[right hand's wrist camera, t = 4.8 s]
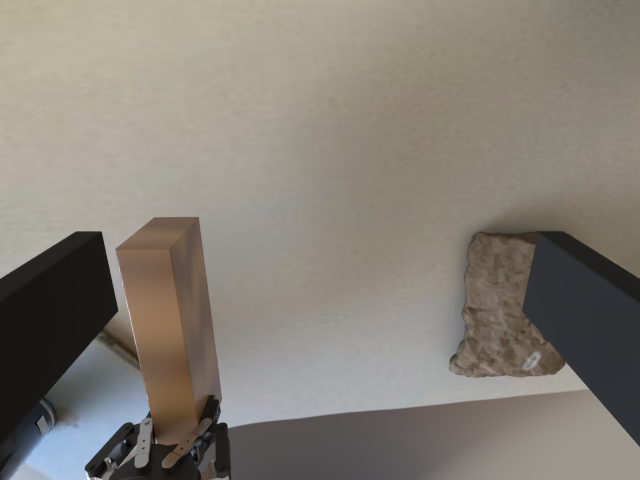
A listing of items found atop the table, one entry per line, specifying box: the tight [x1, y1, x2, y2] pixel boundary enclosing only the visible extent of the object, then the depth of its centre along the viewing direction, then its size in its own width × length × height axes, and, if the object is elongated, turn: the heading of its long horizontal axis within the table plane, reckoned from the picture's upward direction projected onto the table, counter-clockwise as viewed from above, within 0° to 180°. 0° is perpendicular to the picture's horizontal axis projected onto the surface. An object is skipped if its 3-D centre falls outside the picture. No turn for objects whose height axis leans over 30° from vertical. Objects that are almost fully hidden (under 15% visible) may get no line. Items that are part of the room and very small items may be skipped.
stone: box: [449, 232, 566, 378], centre depth 53 cm, size 21×15×6 cm
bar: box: [115, 217, 222, 445], centre depth 44 cm, size 25×5×9 cm, turn 1°
